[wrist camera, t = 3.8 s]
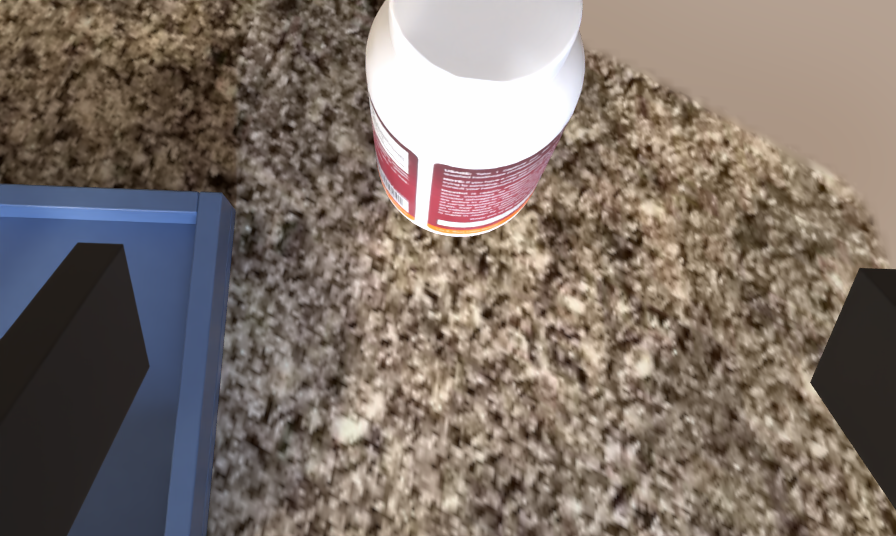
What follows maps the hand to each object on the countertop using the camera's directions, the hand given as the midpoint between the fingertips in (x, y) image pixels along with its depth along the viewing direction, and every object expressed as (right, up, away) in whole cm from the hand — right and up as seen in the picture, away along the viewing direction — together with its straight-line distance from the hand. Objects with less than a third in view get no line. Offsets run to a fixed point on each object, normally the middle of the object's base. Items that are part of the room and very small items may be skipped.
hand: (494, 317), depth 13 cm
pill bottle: (-1, +5, +15) cm, 15 cm away
